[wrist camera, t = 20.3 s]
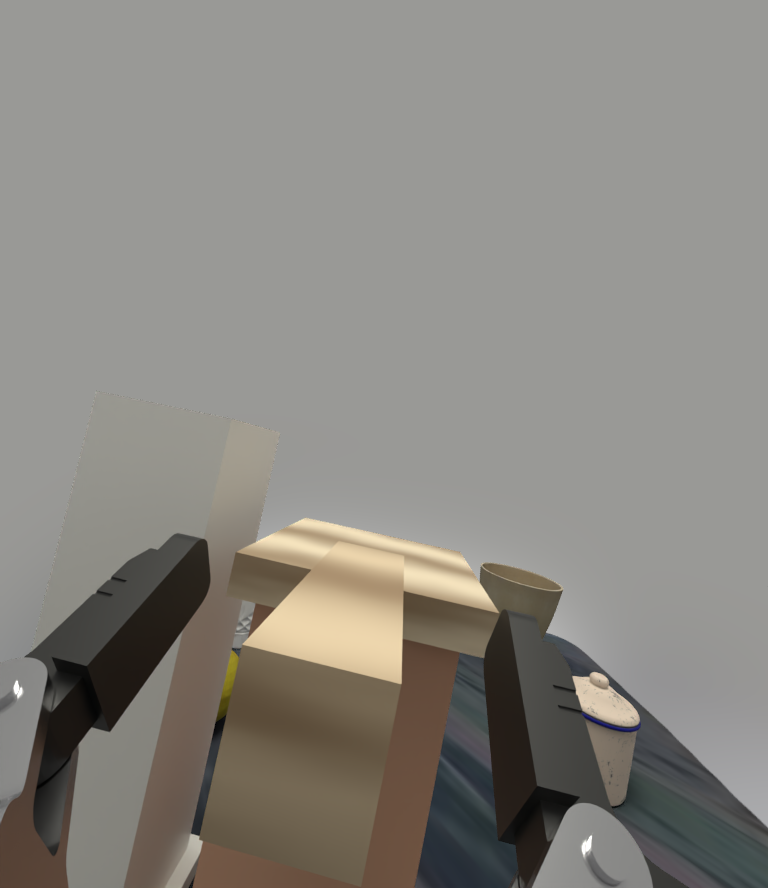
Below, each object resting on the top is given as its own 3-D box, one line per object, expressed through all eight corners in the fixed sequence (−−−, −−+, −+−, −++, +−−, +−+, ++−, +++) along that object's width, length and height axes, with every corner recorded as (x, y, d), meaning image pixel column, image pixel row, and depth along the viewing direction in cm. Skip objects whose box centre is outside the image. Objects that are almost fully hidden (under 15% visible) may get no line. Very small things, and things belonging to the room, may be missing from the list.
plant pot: (554, 694, 62) (571, 597, 63) (463, 664, 66) (480, 573, 67) (540, 655, 76) (554, 576, 77) (466, 632, 80) (480, 557, 81)
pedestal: (90, 1076, 18) (240, 420, 20) (-97, 1012, 19) (63, 383, 20) (203, 859, 28) (296, 436, 30) (78, 823, 29) (176, 411, 30)
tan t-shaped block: (624, 963, 6) (660, 748, 6) (-27, 775, 7) (20, 589, 7) (454, 578, 28) (463, 532, 28) (299, 543, 29) (309, 498, 29)
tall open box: (355, 1192, 16) (462, 639, 18) (141, 1118, 17) (258, 590, 18) (374, 919, 26) (441, 577, 28) (238, 879, 27) (310, 547, 28)
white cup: (232, 621, 64) (245, 562, 65) (270, 637, 61) (284, 576, 62) (195, 638, 57) (210, 572, 57) (237, 657, 54) (253, 587, 55)
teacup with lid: (590, 748, 50) (605, 660, 51) (648, 813, 41) (665, 705, 42) (506, 740, 48) (523, 648, 49) (548, 806, 39) (568, 692, 40)
